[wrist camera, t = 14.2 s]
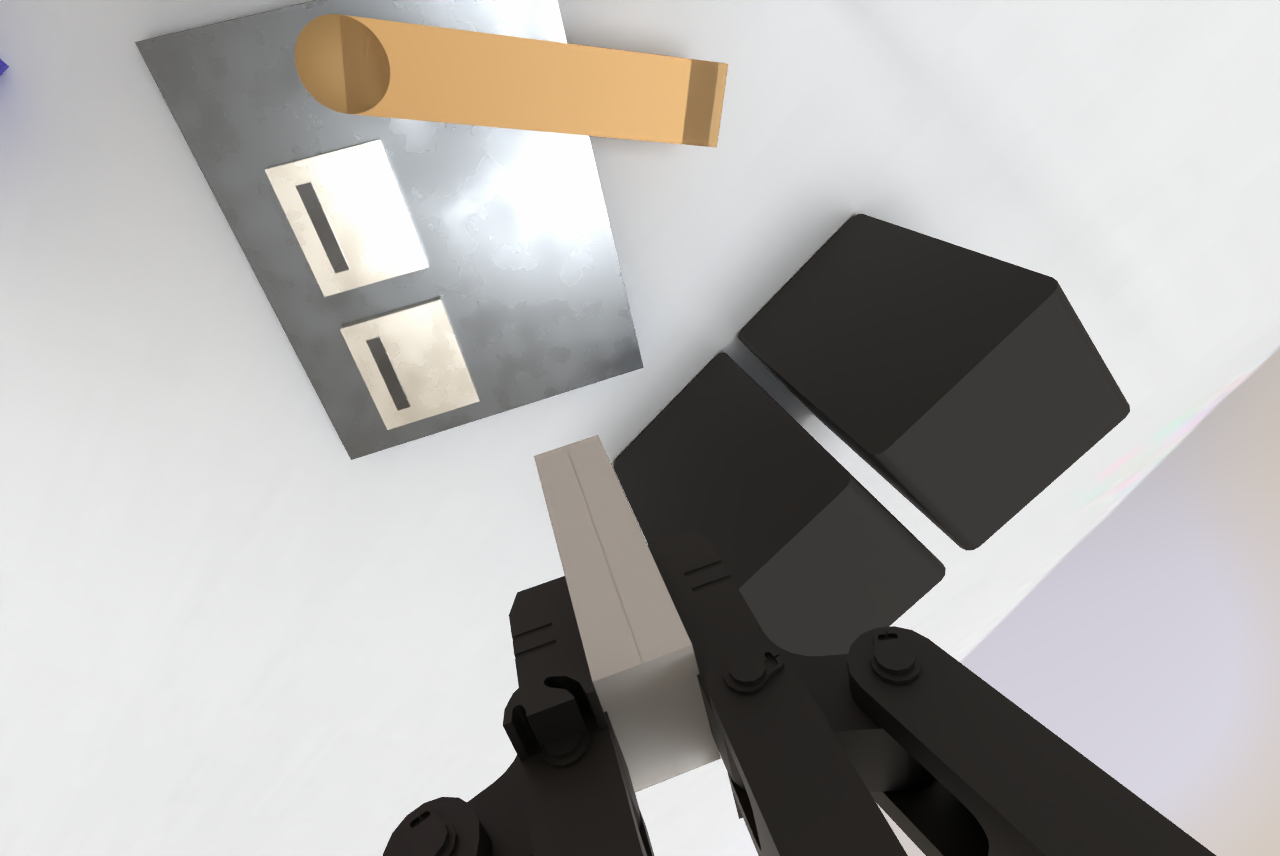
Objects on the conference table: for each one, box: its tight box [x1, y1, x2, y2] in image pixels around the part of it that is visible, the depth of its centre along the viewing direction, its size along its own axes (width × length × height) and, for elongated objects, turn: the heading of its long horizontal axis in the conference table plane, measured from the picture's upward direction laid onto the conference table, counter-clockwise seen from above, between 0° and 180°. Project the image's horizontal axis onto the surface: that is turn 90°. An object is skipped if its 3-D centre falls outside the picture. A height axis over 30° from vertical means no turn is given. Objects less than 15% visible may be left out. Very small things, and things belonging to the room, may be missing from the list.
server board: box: [135, 0, 643, 460], centre depth 40 cm, size 24×20×3 cm
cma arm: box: [295, 14, 728, 147], centre depth 35 cm, size 20×4×3 cm, turn 85°
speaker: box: [614, 214, 1130, 656], centre depth 44 cm, size 25×11×19 cm, turn 136°
